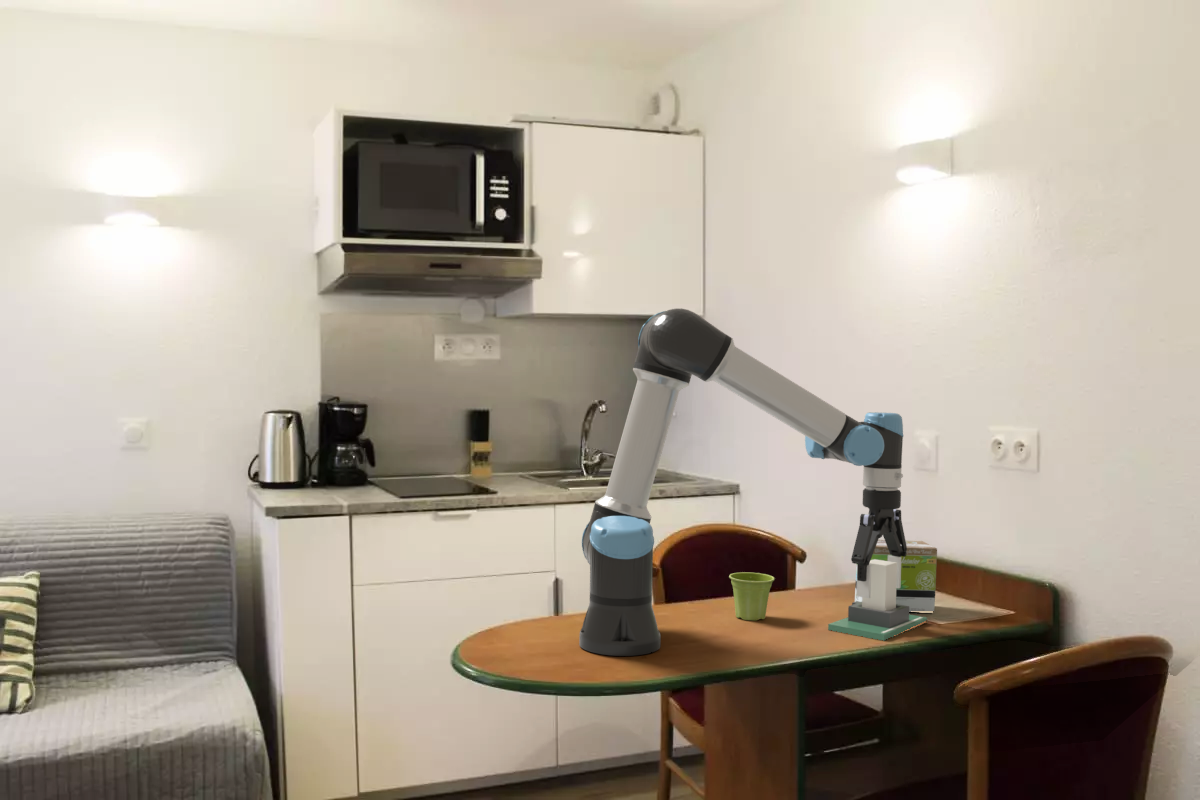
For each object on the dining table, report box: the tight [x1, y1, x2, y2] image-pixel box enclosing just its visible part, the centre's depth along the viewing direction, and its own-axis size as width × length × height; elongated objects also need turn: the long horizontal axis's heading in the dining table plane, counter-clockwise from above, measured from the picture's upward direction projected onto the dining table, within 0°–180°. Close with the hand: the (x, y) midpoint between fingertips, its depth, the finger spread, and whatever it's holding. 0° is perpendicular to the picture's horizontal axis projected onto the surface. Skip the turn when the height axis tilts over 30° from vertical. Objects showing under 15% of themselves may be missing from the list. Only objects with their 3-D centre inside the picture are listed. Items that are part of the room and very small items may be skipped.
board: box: [827, 601, 928, 642], centre depth 214 cm, size 20×12×4 cm, turn 139°
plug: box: [862, 559, 897, 611], centre depth 214 cm, size 5×6×12 cm
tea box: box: [854, 539, 938, 612], centre depth 231 cm, size 15×10×15 cm, turn 92°
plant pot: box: [728, 571, 775, 622], centre depth 220 cm, size 9×9×9 cm
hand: (878, 592), depth 214 cm, fingers open, 13 cm apart
